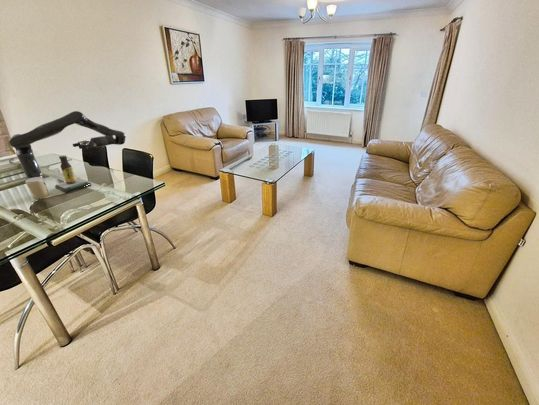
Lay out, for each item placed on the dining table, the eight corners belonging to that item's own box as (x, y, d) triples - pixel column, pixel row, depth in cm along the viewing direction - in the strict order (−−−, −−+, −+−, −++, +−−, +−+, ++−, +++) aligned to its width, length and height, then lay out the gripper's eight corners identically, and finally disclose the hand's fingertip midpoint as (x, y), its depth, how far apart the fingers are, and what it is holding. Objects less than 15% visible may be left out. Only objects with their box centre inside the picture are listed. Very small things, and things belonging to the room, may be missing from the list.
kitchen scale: (55, 188, 179) (54, 184, 178) (80, 181, 192) (78, 177, 190) (66, 193, 172) (65, 189, 171) (91, 185, 185) (90, 181, 183)
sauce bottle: (71, 184, 178) (61, 157, 169) (64, 184, 179) (53, 157, 170) (79, 181, 184) (69, 155, 174) (72, 180, 185) (62, 154, 176)
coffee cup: (53, 194, 171) (46, 177, 166) (38, 199, 164) (30, 182, 158) (44, 191, 174) (37, 175, 168) (29, 197, 166) (21, 180, 161)
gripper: (93, 135, 193) (69, 139, 180) (103, 138, 186) (79, 142, 174) (95, 145, 196) (72, 149, 184) (106, 148, 190) (82, 153, 177)
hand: (76, 146), depth 179 cm, fingers open, 8 cm apart
